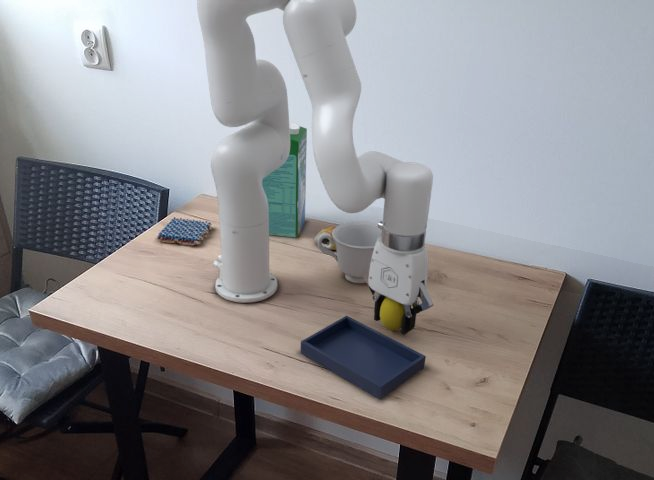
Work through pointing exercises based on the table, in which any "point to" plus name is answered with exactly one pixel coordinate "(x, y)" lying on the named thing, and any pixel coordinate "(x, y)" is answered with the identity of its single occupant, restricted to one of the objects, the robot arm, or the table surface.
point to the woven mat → (184, 231)
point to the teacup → (353, 248)
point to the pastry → (326, 241)
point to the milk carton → (288, 188)
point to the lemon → (391, 314)
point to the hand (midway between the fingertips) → (393, 323)
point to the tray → (363, 356)
